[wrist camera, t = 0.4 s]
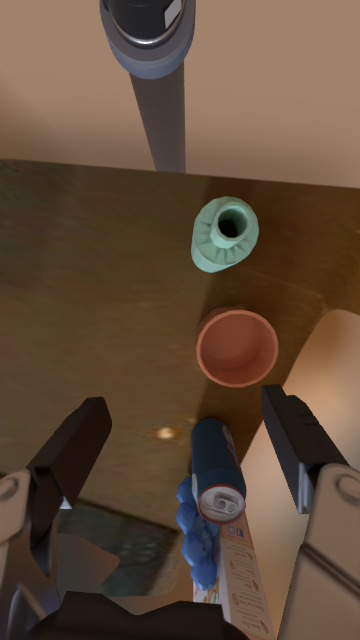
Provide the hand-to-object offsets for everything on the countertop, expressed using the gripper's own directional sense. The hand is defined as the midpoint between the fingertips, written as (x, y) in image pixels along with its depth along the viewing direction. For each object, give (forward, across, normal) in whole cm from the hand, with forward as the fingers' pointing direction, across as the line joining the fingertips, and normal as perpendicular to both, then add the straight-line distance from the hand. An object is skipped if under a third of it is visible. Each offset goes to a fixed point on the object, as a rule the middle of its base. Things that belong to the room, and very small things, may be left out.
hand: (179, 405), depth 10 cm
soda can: (+20, 0, +23) cm, 30 cm away
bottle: (+24, -4, -7) cm, 25 cm away
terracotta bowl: (+22, -5, +7) cm, 24 cm away
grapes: (+18, +4, +35) cm, 39 cm away
